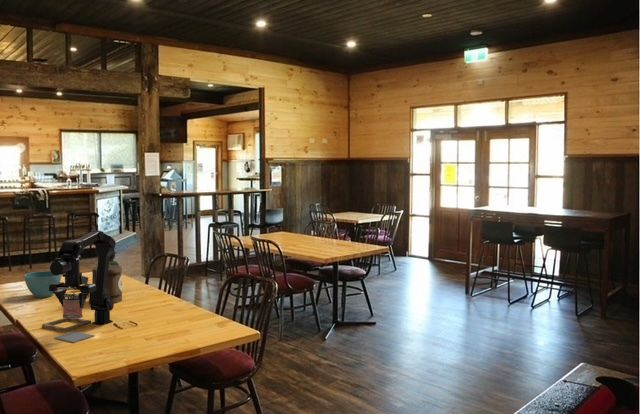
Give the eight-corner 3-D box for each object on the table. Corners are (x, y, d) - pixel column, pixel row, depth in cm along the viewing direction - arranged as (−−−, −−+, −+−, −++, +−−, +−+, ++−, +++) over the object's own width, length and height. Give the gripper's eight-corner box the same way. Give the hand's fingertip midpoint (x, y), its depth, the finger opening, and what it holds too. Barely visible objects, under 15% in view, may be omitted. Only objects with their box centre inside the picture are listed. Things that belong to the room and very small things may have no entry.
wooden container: (127, 301, 292) (126, 260, 291) (100, 306, 281) (99, 263, 280) (113, 296, 302) (113, 257, 301) (87, 301, 291) (86, 260, 290)
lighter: (84, 316, 231) (83, 292, 231) (80, 318, 228) (80, 294, 227) (64, 315, 231) (64, 292, 231) (61, 318, 228) (60, 294, 227)
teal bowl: (51, 300, 292) (50, 277, 291) (17, 299, 292) (17, 277, 291) (67, 292, 310) (67, 271, 309) (36, 292, 311) (35, 270, 310)
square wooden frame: (91, 324, 250) (91, 320, 249) (64, 332, 237) (64, 329, 237) (69, 319, 256) (69, 316, 256) (42, 327, 243) (41, 324, 243)
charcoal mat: (94, 336, 232) (94, 335, 232) (74, 343, 223) (74, 341, 223) (74, 332, 237) (74, 331, 237) (54, 338, 228) (54, 337, 228)
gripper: (103, 268, 235) (103, 304, 236) (64, 266, 238) (64, 302, 239) (88, 273, 224) (88, 310, 225) (47, 271, 227) (48, 308, 228)
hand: (72, 307), depth 230 cm, fingers closed on lighter, 8 cm apart
